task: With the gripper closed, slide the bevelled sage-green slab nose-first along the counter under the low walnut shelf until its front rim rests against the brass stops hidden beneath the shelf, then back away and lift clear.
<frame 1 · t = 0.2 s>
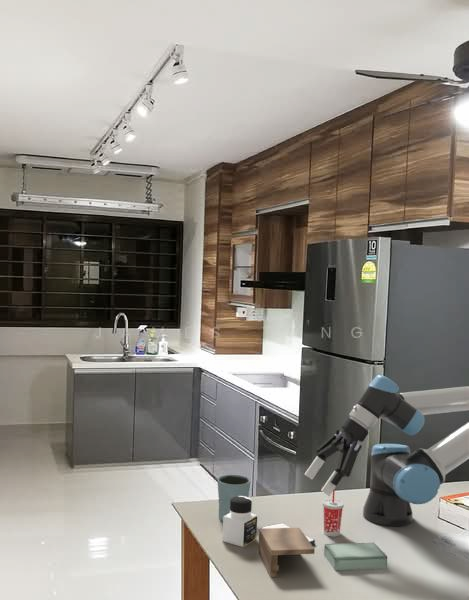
hand: (316, 485, 187), 15 cm above the table, tool tilted 35°, fingers open, 13 cm apart
teal tapered cup: (232, 518, 200), on the table
walnut shelf: (284, 564, 169), on the table
medicine bottle: (239, 541, 183), on the table
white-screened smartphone: (286, 539, 187), on the table
bevelled sage-green slab: (354, 561, 173), on the table
beverage cup: (331, 534, 191), on the table
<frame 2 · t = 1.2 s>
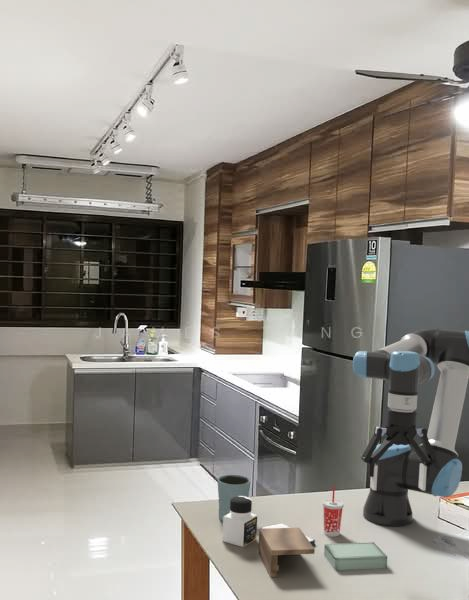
hand: (397, 489, 174), 19 cm above the table, tool pointing down, fingers open, 13 cm apart
nothing on the table moved.
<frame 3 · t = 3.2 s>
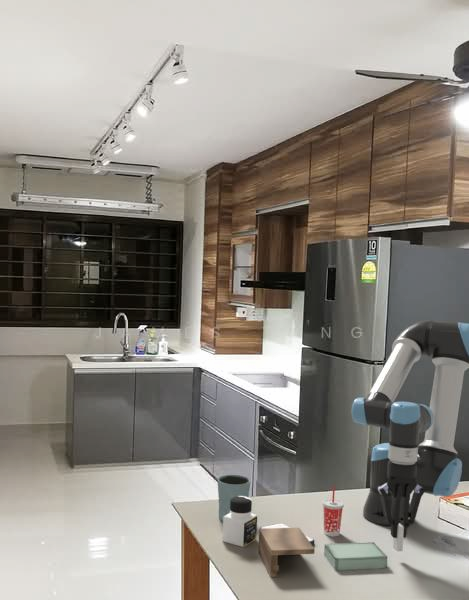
hand: (397, 549, 174), 3 cm above the table, tool pointing down, fingers closed
nothing on the table moved.
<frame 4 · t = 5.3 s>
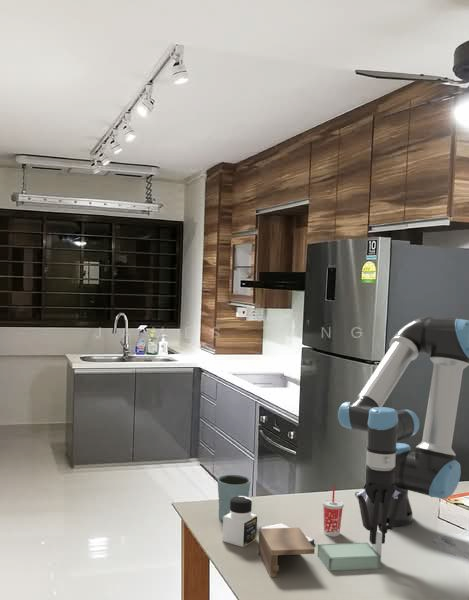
hand: (376, 555, 174), 1 cm above the table, tool pointing down, fingers closed
bevelled sage-green slab: (348, 561, 172), on the table, touching gripper
everything else where it was.
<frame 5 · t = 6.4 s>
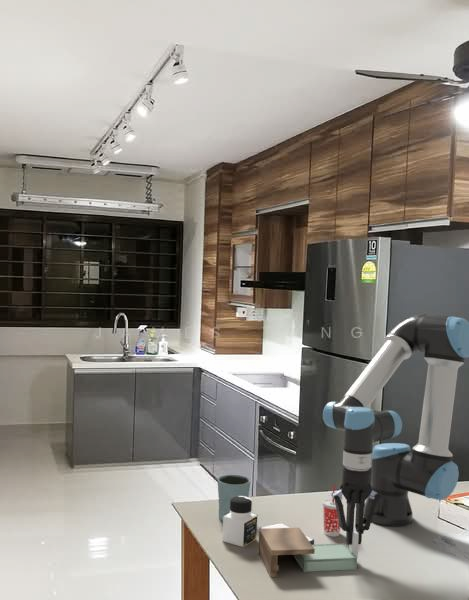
hand: (353, 556, 172), 2 cm above the table, tool pointing down, fingers closed
bevelled sage-green slab: (324, 562, 171), on the table, touching gripper
everything else where it was.
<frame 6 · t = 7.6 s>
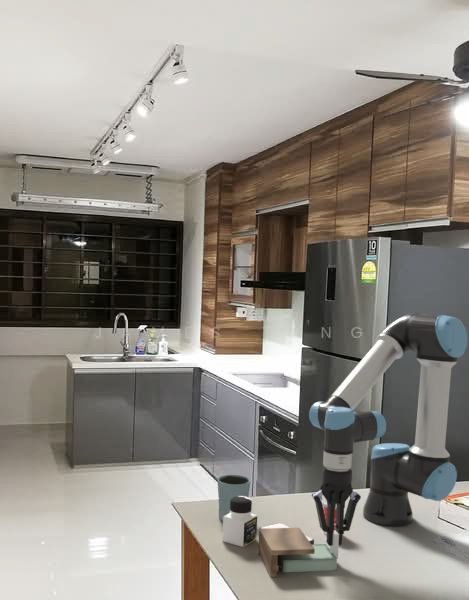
hand: (333, 556, 171), 1 cm above the table, tool pointing down, fingers closed
bevelled sage-green slab: (304, 563, 170), on the table, touching gripper
everything else where it was.
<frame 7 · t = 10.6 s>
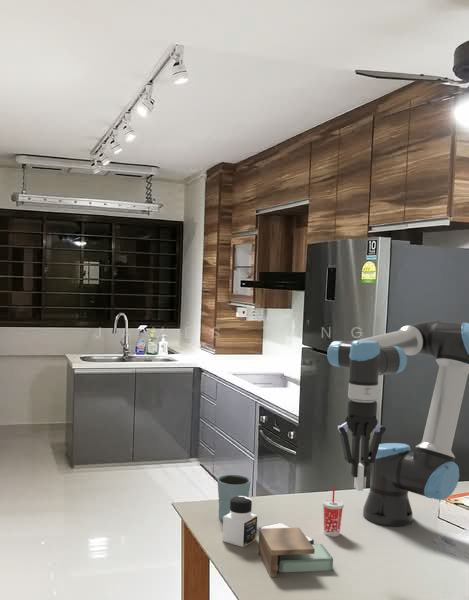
hand: (358, 488, 172), 19 cm above the table, tool pointing down, fingers closed
bevelled sage-green slab: (301, 563, 170), on the table
everything else where it was.
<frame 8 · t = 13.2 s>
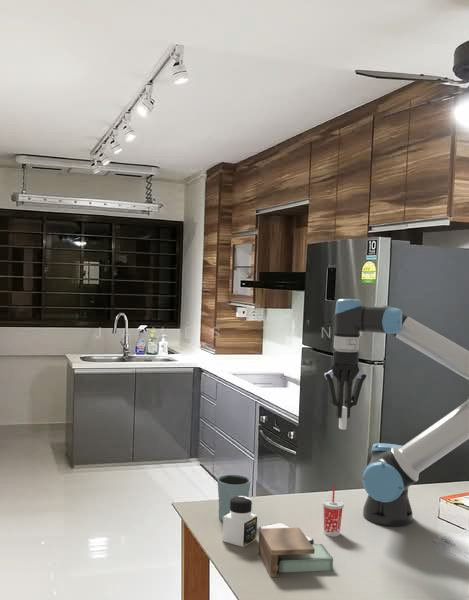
hand: (342, 428, 197), 29 cm above the table, tool pointing down, fingers closed
nothing on the table moved.
at the end: bevelled sage-green slab 0.6 cm from the target spot on the walnut shelf, point 0.0 cm above the walnut shelf's base; bevelled sage-green slab tilted 0° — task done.
